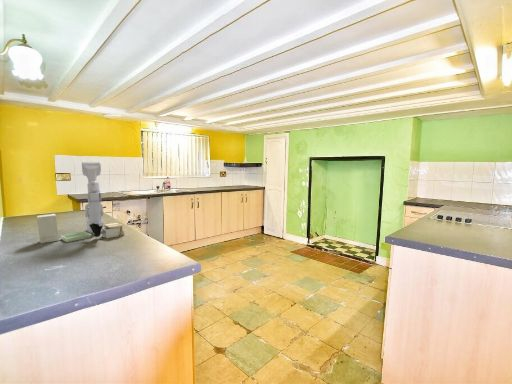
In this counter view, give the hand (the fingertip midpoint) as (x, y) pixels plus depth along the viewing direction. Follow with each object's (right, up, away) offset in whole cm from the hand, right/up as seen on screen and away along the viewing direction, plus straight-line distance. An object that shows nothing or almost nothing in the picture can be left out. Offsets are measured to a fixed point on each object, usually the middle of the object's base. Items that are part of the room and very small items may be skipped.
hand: (96, 236), depth 149 cm
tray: (-13, -1, +1) cm, 13 cm away
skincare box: (-24, -2, -4) cm, 25 cm away
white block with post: (+3, -1, +4) cm, 5 cm away
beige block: (+5, -1, +7) cm, 9 cm away
